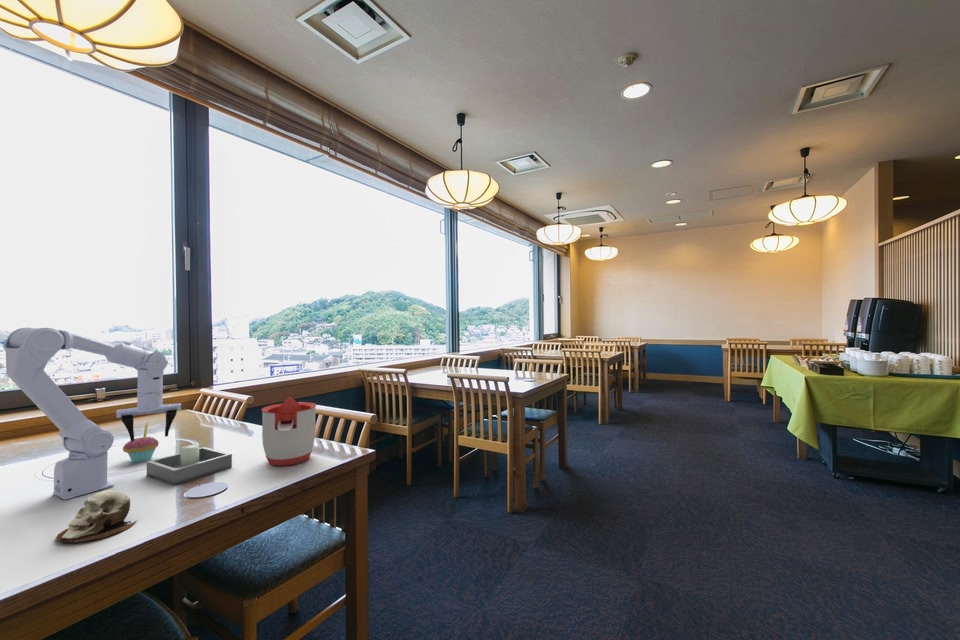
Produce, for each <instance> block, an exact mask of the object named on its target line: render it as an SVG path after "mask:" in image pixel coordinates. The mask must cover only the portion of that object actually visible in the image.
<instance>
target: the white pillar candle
mask: <svg viewBox="0 0 960 640" xmlns="http://www.w3.org/2000/svg"><path fill="white" fill-rule="evenodd" d="M199 448H200V445H199V444H191V445H190V444H189V445H185V446H182V447H180V449H179V450H180V468H181V467H184V466H188V465H192V464H195V463H199Z"/></svg>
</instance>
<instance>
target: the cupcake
mask: <svg viewBox="0 0 960 640" xmlns="http://www.w3.org/2000/svg"><path fill="white" fill-rule="evenodd" d="M148 427H149V426H148V422H146V423H145V425H144V430H143V435H142V437H136V438H134V441H132V442H131V440H129V441H127V443H125V444H124V445H123V447H122V450H123V452H124V453H127V454H128V456H129V459H130V460H131V462H132V463H144V462H147V461H151V459H152V458H153V455H154V452H155V450H156V448H158V447H159V443H160V442H159V441H158V439H156V438H154V437H151V436H147V433H148Z"/></svg>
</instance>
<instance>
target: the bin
mask: <svg viewBox="0 0 960 640" xmlns="http://www.w3.org/2000/svg"><path fill="white" fill-rule="evenodd" d="M232 467H233V454H232V453H229V452H225V451H221V450H218V449H214V448H209V447H206V446H203V447H199V463H195V464H192V465H188V466H184V467H181V468H180V453H179V452H178V453H176V454H171V455H167V456H163V457H159V458H156V459H152V460H151V459H150V460H147V461H146V476H147V477H149V478H152V479H154V480H158V481H160V482H162V483H166V484H169V485H171V486H178V485H181V484H184V483H187V482H191V481H193V480H194V481H195V480H196V479H200V478H202V477H205V476H208V475H212V474H215V473H218V472H223V471H225V470H229V469H232Z"/></svg>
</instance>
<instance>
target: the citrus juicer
mask: <svg viewBox="0 0 960 640" xmlns="http://www.w3.org/2000/svg"><path fill="white" fill-rule="evenodd" d="M316 407H317V404H316V403H314V402H307V401H305V402H304V401H296V400H295V399H294V398H293V397H291V396H289V397H287V398H286V399H285V400H284V401H283V402H282V403H275V404H271V405H268V406H265V407H263V408H261V412H262V420H261V421H262V423H261V424H262V428H261V429H262V432H261V433H262V435H261V439H262V447H263V450H264V451H263V452H264V454H265V458H266V460H267V463H268V464H270V465H272V466H273V465H278V466H281V467H282V466H283V467H284V466H290V465H291V466H292V465H296V464H295V463H299V462H302V461H303V462H305V461H307V460H309V458H310V457H311V454H312V452H313V447H314V443H315V439H316ZM306 459H307V460H306ZM304 460H305V461H304ZM303 462H302V463H303ZM299 464H300V463H299ZM278 466H277V467H278Z"/></svg>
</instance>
